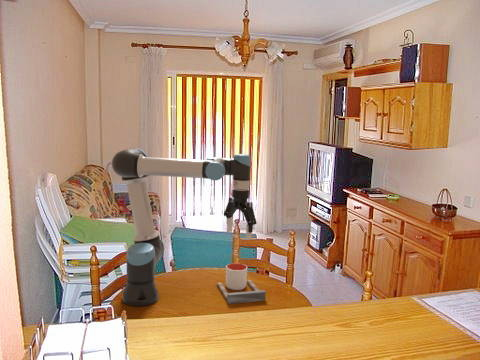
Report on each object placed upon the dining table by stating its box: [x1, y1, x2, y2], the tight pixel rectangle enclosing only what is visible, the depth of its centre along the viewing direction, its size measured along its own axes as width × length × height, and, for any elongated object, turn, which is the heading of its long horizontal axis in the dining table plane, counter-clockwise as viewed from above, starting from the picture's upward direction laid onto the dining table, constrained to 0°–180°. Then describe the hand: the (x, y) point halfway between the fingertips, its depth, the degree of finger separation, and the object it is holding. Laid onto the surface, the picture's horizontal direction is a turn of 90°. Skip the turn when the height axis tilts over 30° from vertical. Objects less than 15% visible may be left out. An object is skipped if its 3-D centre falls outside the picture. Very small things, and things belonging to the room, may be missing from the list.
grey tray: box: [216, 279, 267, 305], centre depth 190 cm, size 20×17×4 cm
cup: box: [225, 262, 248, 291], centre depth 196 cm, size 10×10×10 cm
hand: (238, 235), depth 187 cm, fingers open, 13 cm apart
